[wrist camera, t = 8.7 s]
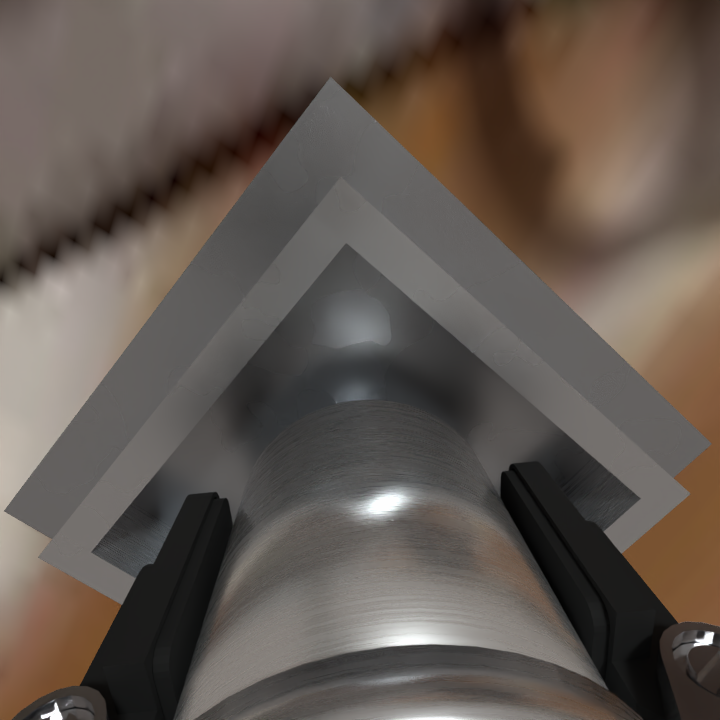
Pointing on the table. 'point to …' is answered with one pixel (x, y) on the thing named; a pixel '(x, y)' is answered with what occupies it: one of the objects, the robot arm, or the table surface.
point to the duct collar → (348, 358)
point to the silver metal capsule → (383, 588)
